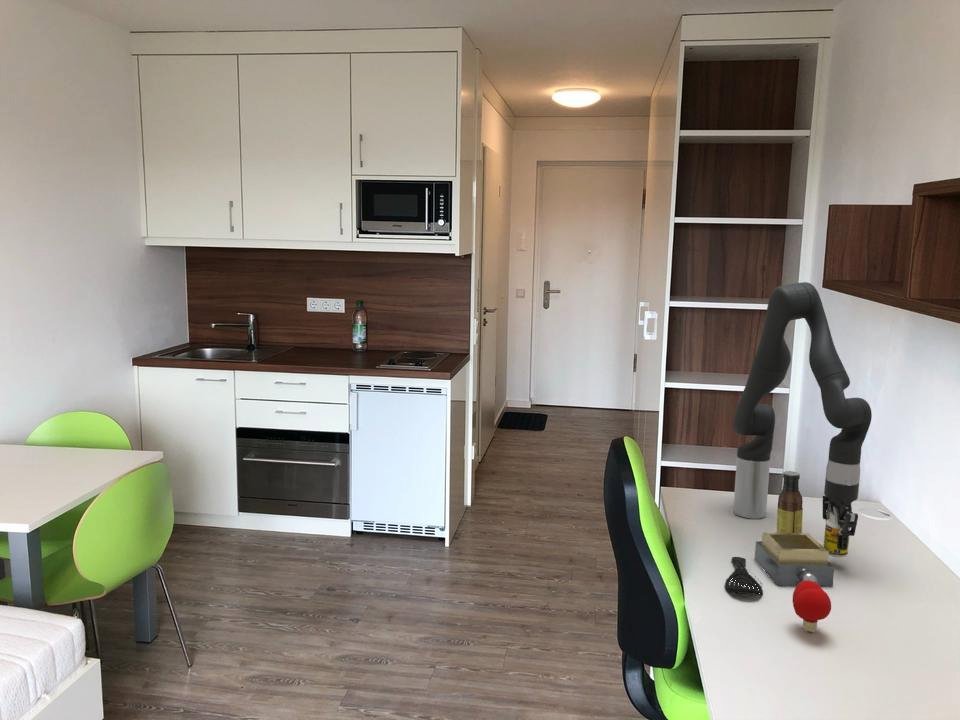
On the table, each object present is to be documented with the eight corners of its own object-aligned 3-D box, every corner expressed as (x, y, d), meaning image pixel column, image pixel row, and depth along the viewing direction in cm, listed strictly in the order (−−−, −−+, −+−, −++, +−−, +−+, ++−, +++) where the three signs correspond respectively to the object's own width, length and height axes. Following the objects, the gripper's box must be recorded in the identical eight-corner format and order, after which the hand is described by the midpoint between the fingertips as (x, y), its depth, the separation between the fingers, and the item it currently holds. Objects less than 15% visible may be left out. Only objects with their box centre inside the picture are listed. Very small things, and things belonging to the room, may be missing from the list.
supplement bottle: (818, 551, 190) (821, 512, 189) (832, 547, 193) (835, 508, 191) (838, 560, 185) (842, 520, 184) (852, 555, 188) (856, 516, 186)
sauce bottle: (796, 541, 206) (802, 470, 203) (804, 550, 200) (810, 476, 197) (771, 540, 206) (777, 469, 204) (778, 548, 200) (783, 475, 197)
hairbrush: (755, 551, 193) (766, 588, 168) (754, 565, 193) (765, 604, 169) (721, 547, 195) (727, 583, 170) (720, 561, 195) (726, 599, 171)
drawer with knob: (754, 560, 193) (756, 529, 192) (806, 560, 193) (808, 530, 191) (781, 591, 175) (784, 558, 174) (838, 592, 175) (841, 559, 174)
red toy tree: (783, 620, 161) (787, 575, 160) (817, 621, 161) (821, 576, 160) (800, 642, 152) (804, 595, 151) (836, 644, 152) (840, 596, 150)
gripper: (814, 469, 193) (808, 532, 196) (840, 488, 179) (834, 556, 182) (843, 469, 193) (837, 533, 196) (872, 488, 179) (865, 556, 182)
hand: (836, 543), depth 189 cm, fingers closed on supplement bottle, 5 cm apart
